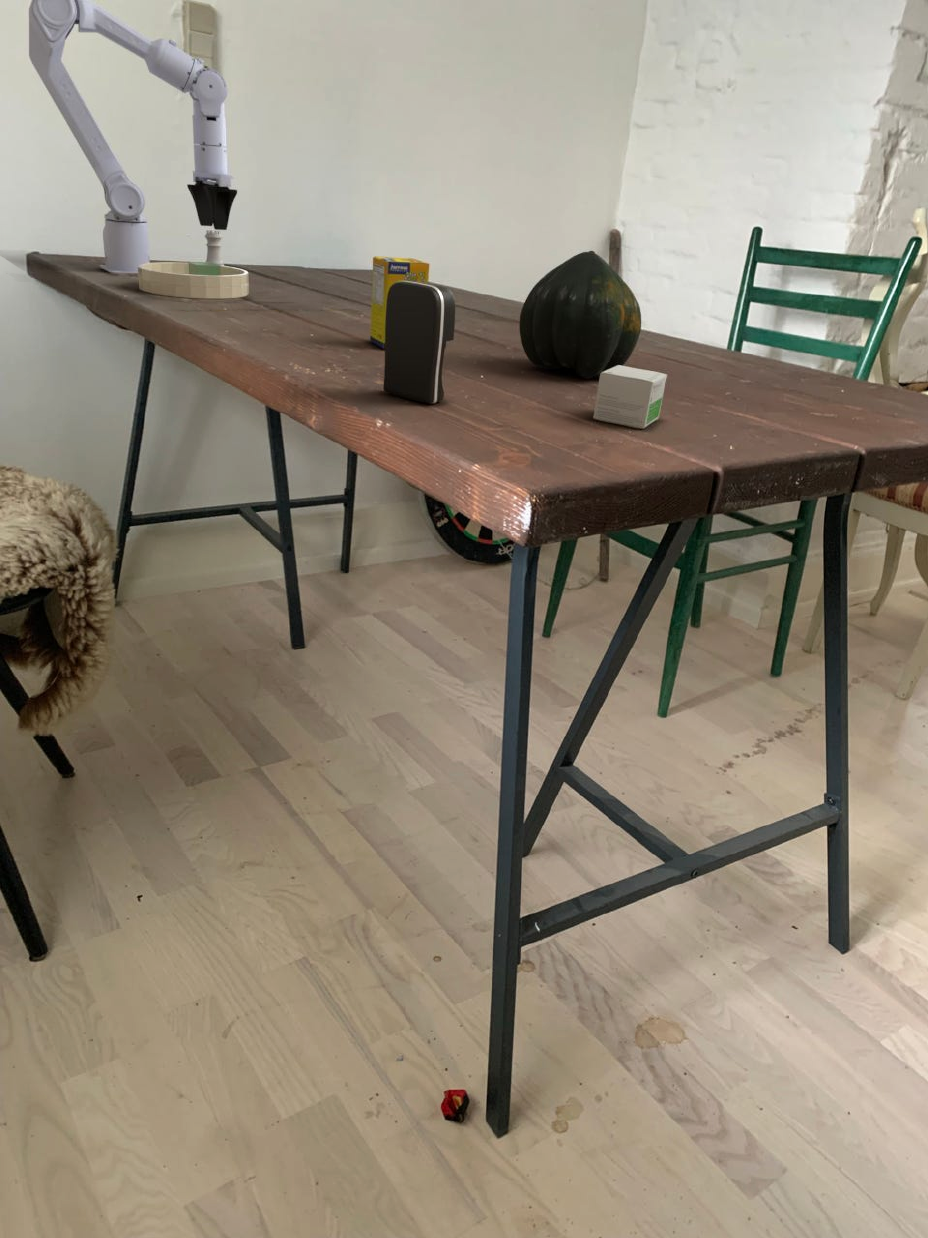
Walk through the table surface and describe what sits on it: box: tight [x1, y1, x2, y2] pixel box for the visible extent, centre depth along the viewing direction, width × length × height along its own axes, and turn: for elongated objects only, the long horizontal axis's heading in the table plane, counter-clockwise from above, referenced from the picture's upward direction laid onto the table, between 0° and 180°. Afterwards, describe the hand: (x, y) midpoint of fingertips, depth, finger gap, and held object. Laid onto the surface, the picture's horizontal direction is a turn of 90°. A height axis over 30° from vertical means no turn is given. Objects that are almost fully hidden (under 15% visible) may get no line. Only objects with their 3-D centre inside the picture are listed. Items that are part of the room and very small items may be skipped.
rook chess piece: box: [204, 229, 225, 266], centre depth 171 cm, size 4×4×8 cm
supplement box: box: [369, 255, 430, 350], centre depth 119 cm, size 6×6×11 cm
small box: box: [592, 365, 668, 430], centre depth 93 cm, size 6×6×5 cm
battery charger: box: [383, 281, 456, 404], centre depth 93 cm, size 7×4×11 cm, turn 52°
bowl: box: [137, 261, 250, 300], centre depth 148 cm, size 17×17×4 cm
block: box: [188, 261, 221, 276], centre depth 151 cm, size 4×4×4 cm
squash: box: [519, 250, 642, 380], centre depth 113 cm, size 14×15×15 cm
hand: (213, 227), depth 169 cm, fingers open, 7 cm apart
